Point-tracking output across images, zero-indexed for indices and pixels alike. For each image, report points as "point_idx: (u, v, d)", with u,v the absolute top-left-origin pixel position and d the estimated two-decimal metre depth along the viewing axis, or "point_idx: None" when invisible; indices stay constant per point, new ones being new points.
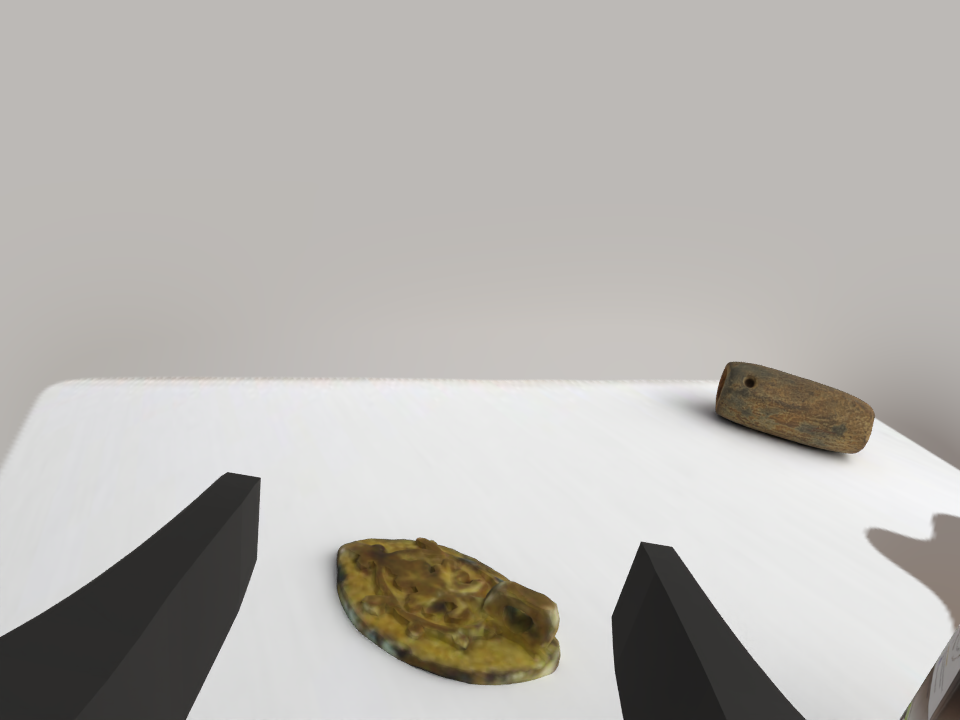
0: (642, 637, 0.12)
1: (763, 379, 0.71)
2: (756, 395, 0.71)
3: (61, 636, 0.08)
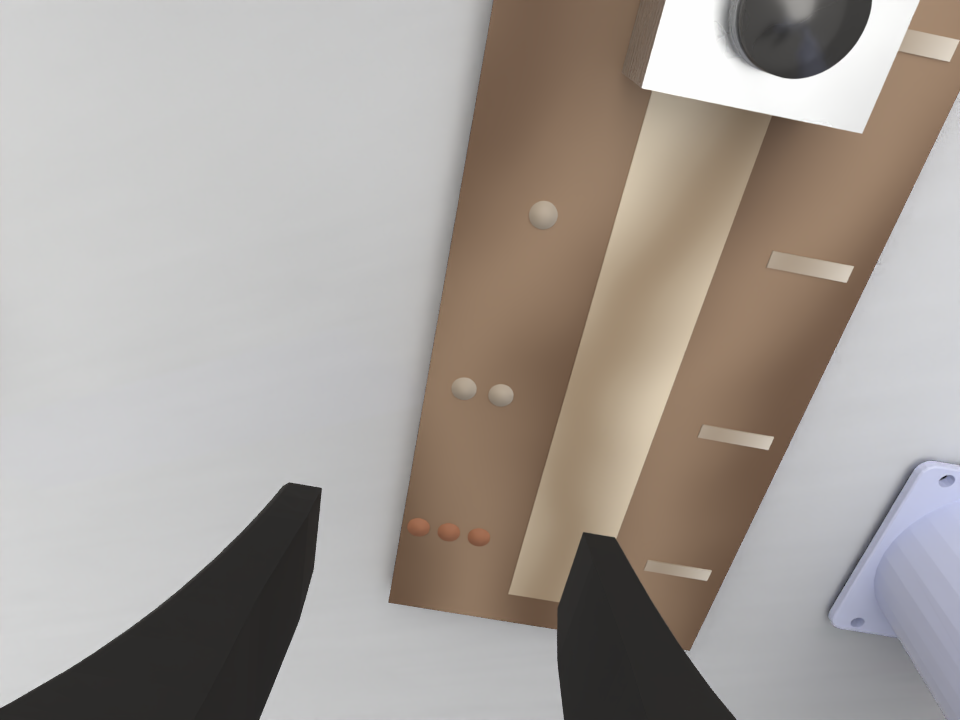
0: (580, 627, 0.12)
1: None
2: None
3: (155, 650, 0.08)
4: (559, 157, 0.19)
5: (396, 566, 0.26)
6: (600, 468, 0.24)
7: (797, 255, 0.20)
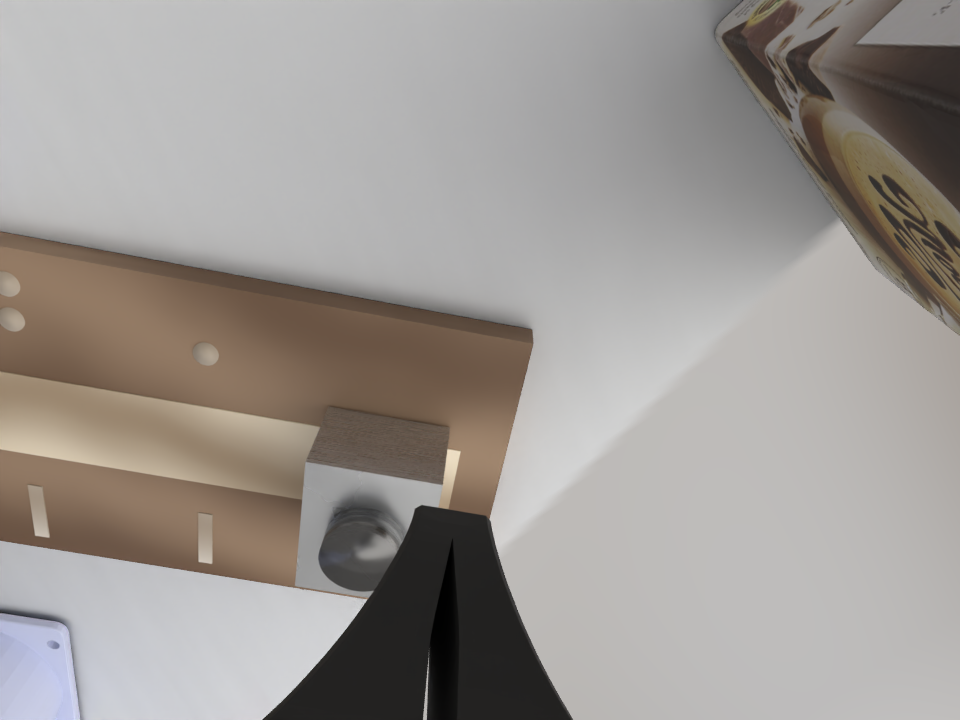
0: (441, 605, 0.12)
1: None
2: None
3: (357, 681, 0.08)
4: (257, 364, 0.22)
5: None
6: None
7: (212, 529, 0.26)
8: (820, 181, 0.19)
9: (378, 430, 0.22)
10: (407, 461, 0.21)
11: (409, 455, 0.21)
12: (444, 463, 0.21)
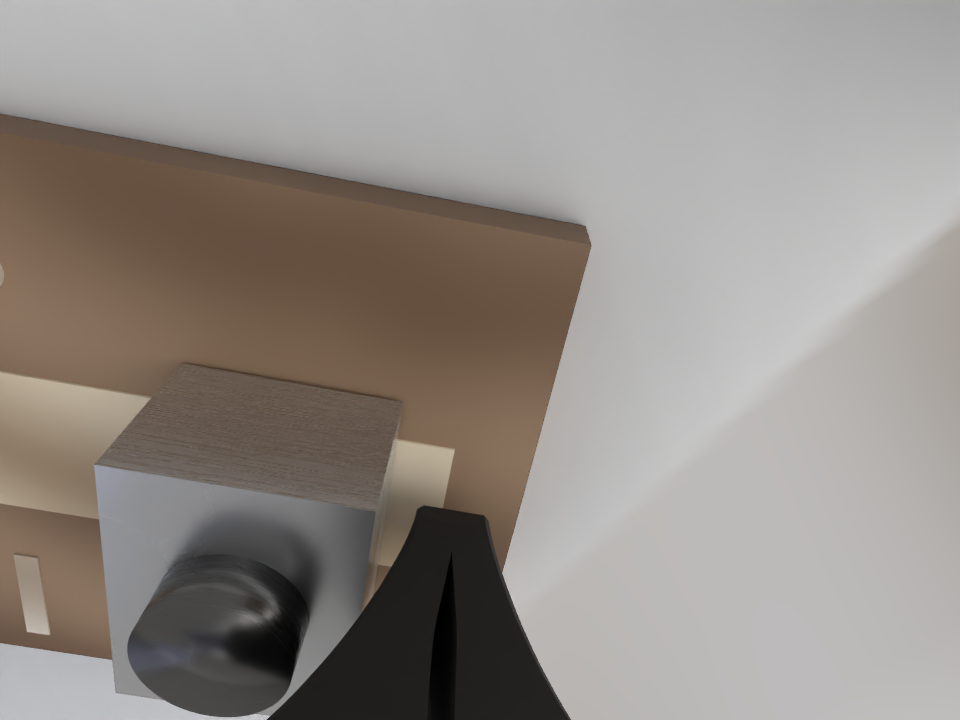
0: (439, 604, 0.12)
1: None
2: None
3: (360, 682, 0.08)
4: (77, 290, 0.12)
5: None
6: None
7: (42, 580, 0.15)
8: None
9: (265, 405, 0.12)
10: (311, 463, 0.11)
11: (316, 450, 0.11)
12: (384, 466, 0.11)
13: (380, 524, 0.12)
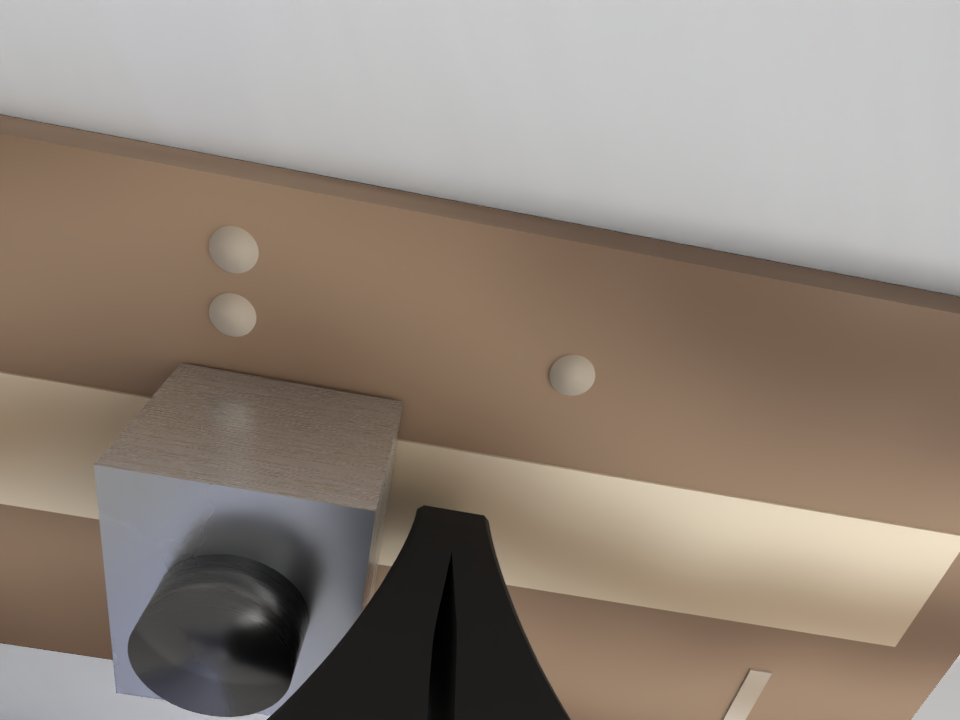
0: (440, 605, 0.12)
1: None
2: None
3: (360, 682, 0.08)
4: (659, 393, 0.13)
5: None
6: None
7: None
8: None
9: (265, 405, 0.12)
10: (312, 463, 0.11)
11: (316, 450, 0.11)
12: (384, 466, 0.11)
13: (380, 524, 0.12)
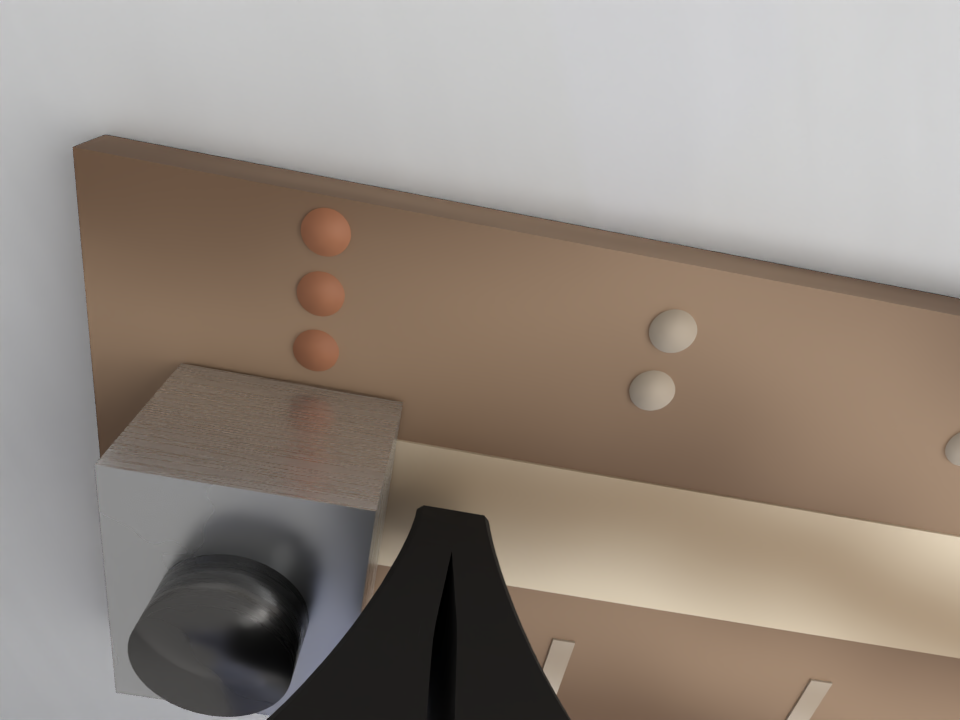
0: (440, 604, 0.12)
1: None
2: None
3: (360, 682, 0.08)
4: None
5: (197, 174, 0.11)
6: (495, 533, 0.14)
7: (819, 702, 0.16)
8: None
9: (265, 405, 0.12)
10: (312, 463, 0.11)
11: (316, 451, 0.11)
12: (384, 467, 0.11)
13: (380, 524, 0.13)
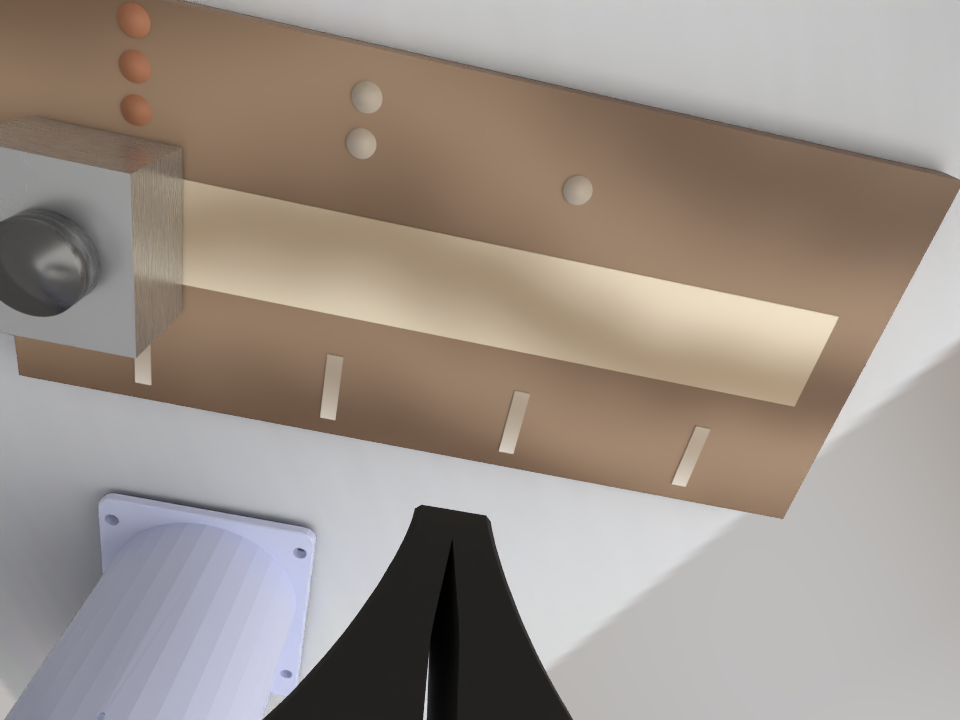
0: (441, 605, 0.12)
1: None
2: None
3: (357, 681, 0.08)
4: (634, 205, 0.20)
5: None
6: (273, 260, 0.21)
7: (525, 411, 0.23)
8: None
9: (82, 135, 0.18)
10: (99, 155, 0.17)
11: (105, 153, 0.17)
12: (148, 163, 0.17)
13: (162, 224, 0.19)
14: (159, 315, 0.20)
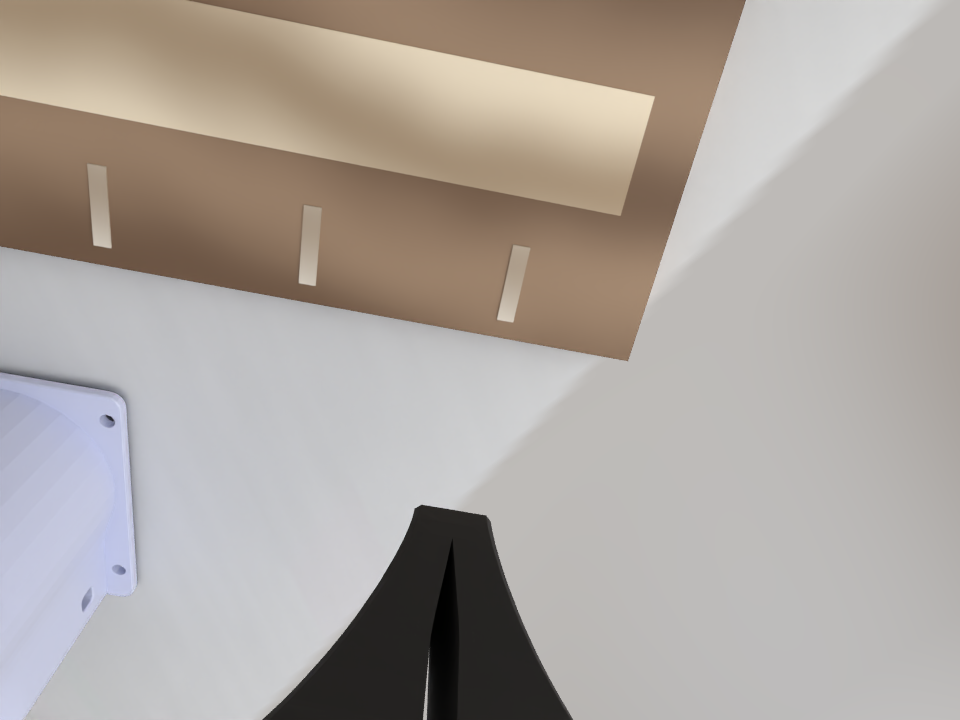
0: (442, 605, 0.12)
1: None
2: None
3: (357, 680, 0.08)
4: None
5: None
6: (4, 42, 0.18)
7: (320, 231, 0.20)
8: None
9: None
10: None
11: None
12: None
13: None
14: None
